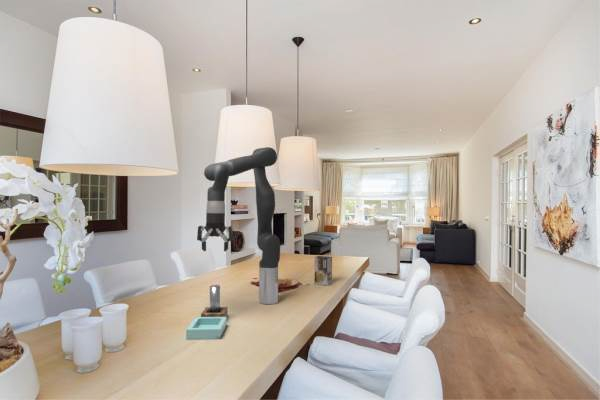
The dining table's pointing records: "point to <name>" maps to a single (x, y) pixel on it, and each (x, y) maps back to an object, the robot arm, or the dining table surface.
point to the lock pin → (215, 299)
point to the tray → (206, 328)
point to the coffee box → (323, 270)
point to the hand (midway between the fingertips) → (214, 251)
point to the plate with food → (284, 283)
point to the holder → (207, 313)
